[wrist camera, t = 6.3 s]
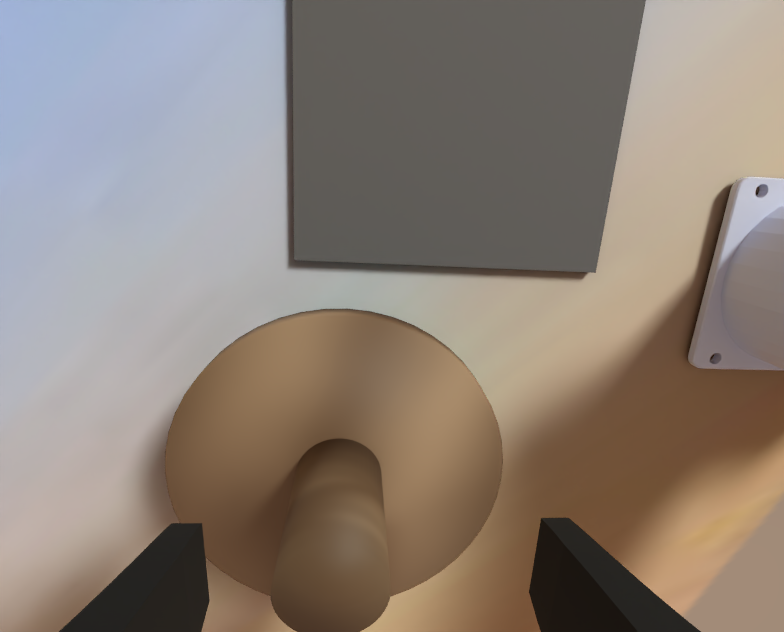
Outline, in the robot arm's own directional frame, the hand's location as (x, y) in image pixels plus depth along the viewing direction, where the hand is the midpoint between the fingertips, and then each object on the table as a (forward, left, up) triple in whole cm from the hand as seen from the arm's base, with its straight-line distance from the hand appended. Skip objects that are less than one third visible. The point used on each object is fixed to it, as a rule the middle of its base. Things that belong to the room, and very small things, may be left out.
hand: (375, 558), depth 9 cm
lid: (+1, +2, -6) cm, 6 cm away
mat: (-3, -11, -10) cm, 15 cm away
